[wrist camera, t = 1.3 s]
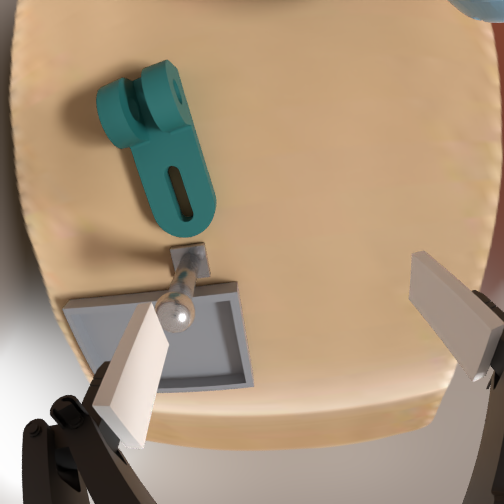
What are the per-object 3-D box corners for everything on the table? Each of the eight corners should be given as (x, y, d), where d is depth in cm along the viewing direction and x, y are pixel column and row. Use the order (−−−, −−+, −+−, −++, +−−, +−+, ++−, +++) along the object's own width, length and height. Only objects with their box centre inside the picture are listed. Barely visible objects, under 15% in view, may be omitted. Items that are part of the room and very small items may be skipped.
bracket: (120, 91, 28) (90, 83, 21) (177, 69, 28) (160, 52, 21) (168, 237, 35) (151, 266, 28) (224, 221, 35) (220, 247, 27)
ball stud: (171, 247, 35) (141, 306, 23) (204, 242, 35) (189, 301, 23) (178, 277, 37) (155, 344, 25) (210, 273, 37) (199, 341, 25)
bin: (69, 299, 37) (62, 308, 35) (237, 281, 37) (237, 291, 35) (108, 381, 44) (104, 392, 41) (253, 374, 43) (254, 386, 41)
